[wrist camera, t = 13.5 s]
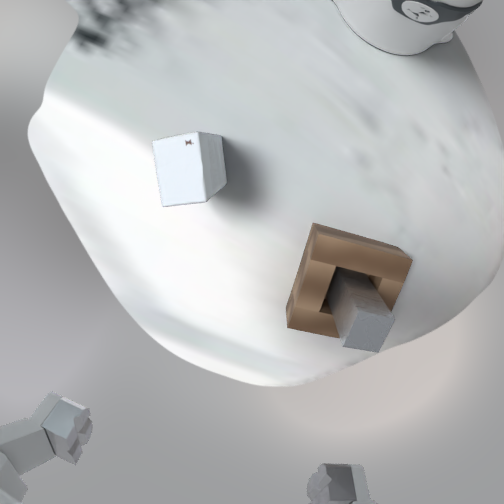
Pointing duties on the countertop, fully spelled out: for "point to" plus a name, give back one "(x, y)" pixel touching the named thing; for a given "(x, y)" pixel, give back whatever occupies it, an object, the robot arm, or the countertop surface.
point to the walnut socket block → (323, 266)
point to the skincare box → (189, 167)
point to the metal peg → (358, 310)
